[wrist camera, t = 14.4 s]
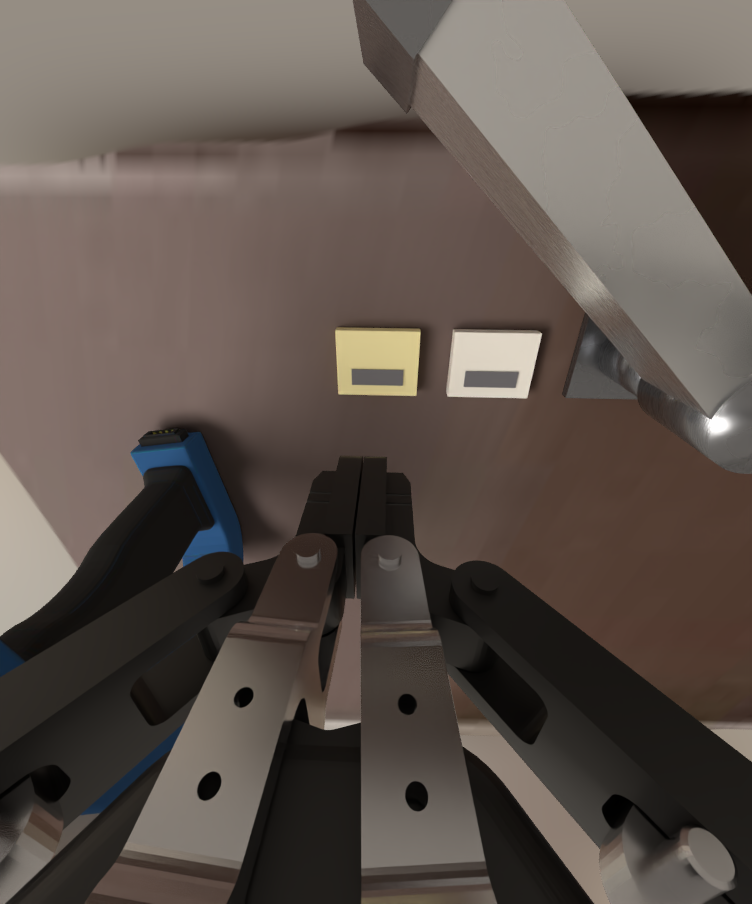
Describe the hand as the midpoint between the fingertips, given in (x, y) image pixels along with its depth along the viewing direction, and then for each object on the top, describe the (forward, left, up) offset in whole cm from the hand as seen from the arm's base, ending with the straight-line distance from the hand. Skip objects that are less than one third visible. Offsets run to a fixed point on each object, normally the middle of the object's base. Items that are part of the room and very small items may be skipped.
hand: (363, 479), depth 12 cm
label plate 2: (-7, 0, -13) cm, 15 cm away
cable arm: (-9, -6, -8) cm, 13 cm away
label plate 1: (0, 0, -13) cm, 13 cm away
